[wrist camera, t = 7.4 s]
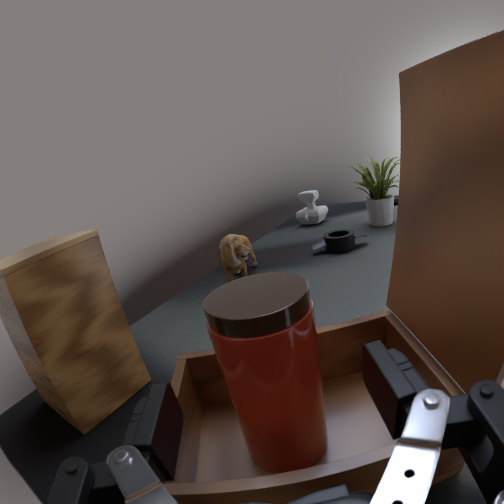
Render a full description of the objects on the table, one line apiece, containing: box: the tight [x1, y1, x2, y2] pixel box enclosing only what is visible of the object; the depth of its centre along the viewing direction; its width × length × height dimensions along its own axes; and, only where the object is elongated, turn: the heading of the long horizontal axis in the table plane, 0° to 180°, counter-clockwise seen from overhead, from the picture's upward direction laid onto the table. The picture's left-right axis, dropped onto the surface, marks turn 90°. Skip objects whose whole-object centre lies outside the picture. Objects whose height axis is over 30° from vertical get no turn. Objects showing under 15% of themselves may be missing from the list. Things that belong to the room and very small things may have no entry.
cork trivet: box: [0, 229, 98, 276], centre depth 25 cm, size 10×10×1 cm
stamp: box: [296, 190, 328, 224], centre depth 83 cm, size 9×7×8 cm
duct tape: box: [311, 229, 367, 254], centre depth 60 cm, size 8×10×3 cm
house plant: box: [352, 158, 400, 226], centre depth 68 cm, size 14×14×16 cm
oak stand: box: [0, 236, 151, 435], centre depth 28 cm, size 10×10×16 cm
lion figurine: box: [218, 234, 257, 282], centre depth 55 cm, size 15×5×9 cm, turn 179°
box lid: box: [386, 29, 504, 394], centre depth 16 cm, size 18×14×4 cm
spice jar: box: [203, 272, 328, 473], centre depth 18 cm, size 6×6×12 cm
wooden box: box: [164, 310, 465, 504], centre depth 19 cm, size 18×14×6 cm
